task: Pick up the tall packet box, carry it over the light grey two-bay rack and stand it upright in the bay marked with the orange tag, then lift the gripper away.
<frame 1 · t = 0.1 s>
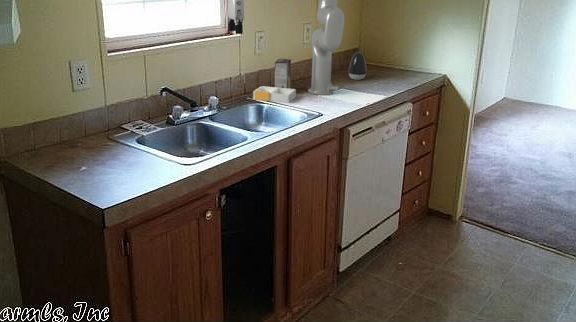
hand: (235, 32, 246), 31 cm above the worktop, tool pointing down, fingers open, 9 cm apart
coffee box: (282, 92, 272), on the worktop
black rounded egg shape: (356, 79, 306), on the worktop
rack: (274, 98, 260), on the worktop
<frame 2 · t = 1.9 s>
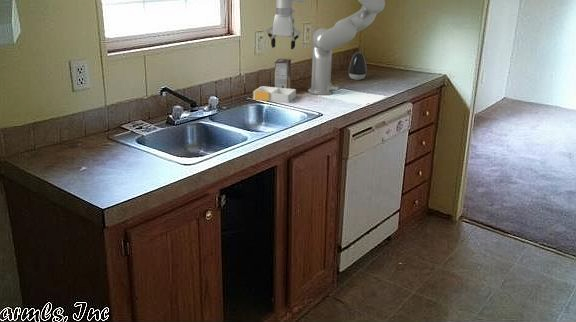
hand: (282, 48, 264), 22 cm above the worktop, tool pointing down, fingers open, 9 cm apart
nothing on the worktop moved.
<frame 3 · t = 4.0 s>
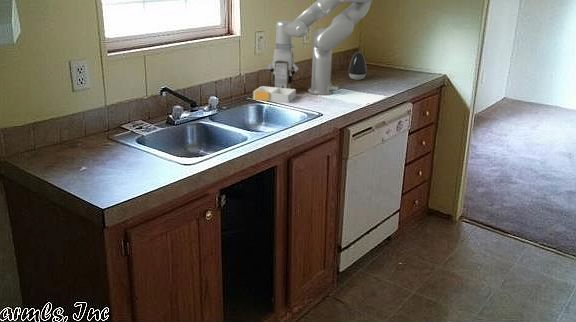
hand: (282, 82, 270), 5 cm above the worktop, tool pointing down, fingers closed on coffee box, 6 cm apart
coffee box: (282, 92, 272), on the worktop, touching gripper
everything else where it was.
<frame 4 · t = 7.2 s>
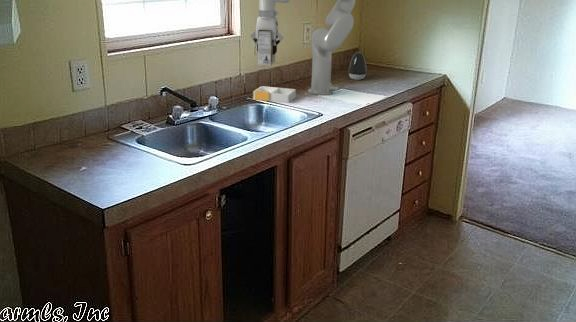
hand: (266, 53, 254), 21 cm above the worktop, tool pointing down, fingers closed on coffee box, 6 cm apart
coffee box: (266, 63, 256), point 16 cm above the worktop, touching gripper
everything else where it was.
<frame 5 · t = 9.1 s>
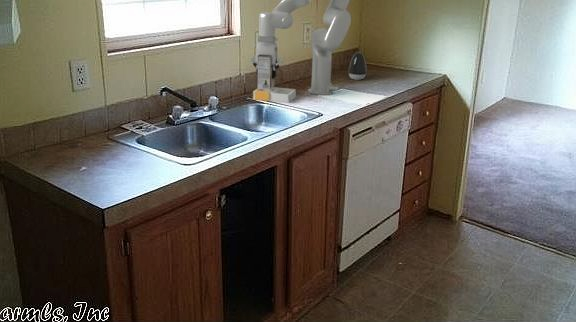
hand: (266, 77, 258), 10 cm above the worktop, tool pointing down, fingers closed on coffee box, 6 cm apart
coffee box: (266, 87, 260), point 5 cm above the worktop, touching gripper
everything else where it was.
when the fingers open (7 cm above the worktop, at t = 10.7 s): coffee box drops 1 cm, resting on rack.
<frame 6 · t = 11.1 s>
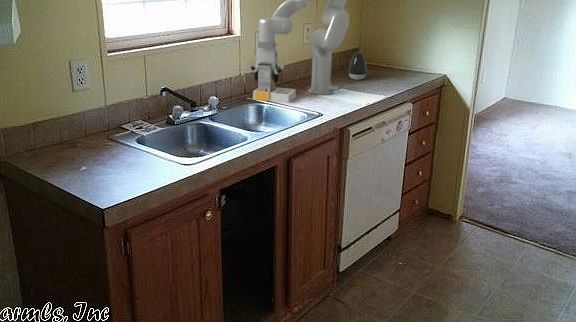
hand: (266, 81, 259), 8 cm above the worktop, tool pointing down, fingers open, 9 cm apart
coffee box: (266, 95, 261), point 1 cm above the worktop, touching rack
everything else where it was.
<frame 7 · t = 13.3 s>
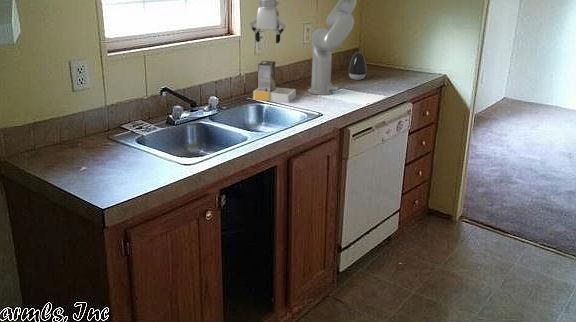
hand: (267, 42, 253), 26 cm above the worktop, tool pointing down, fingers open, 9 cm apart
nothing on the worktop moved.
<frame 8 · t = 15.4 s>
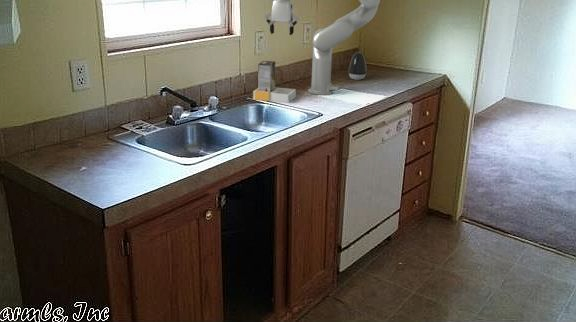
hand: (281, 34, 265), 28 cm above the worktop, tool pointing down, fingers open, 9 cm apart
nothing on the worktop moved.
at the end: coffee box 0.3 cm from the target spot on the rack, point 0.6 cm above the rack's base; coffee box tilted 0°; the gripper is holding nothing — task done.
